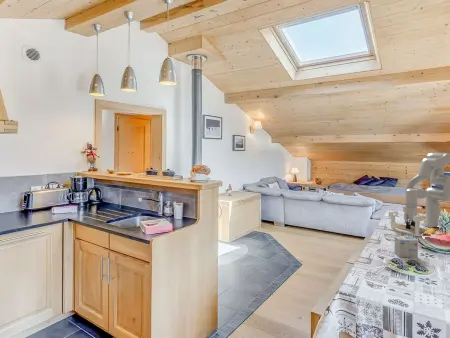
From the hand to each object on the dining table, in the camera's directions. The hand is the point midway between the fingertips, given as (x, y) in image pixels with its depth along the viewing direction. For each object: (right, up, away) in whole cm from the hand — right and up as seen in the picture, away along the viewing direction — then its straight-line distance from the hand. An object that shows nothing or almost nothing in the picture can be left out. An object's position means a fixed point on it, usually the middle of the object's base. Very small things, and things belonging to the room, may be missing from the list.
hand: (410, 228), depth 226 cm
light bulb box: (-35, -6, -51) cm, 62 cm away
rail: (0, -3, 0) cm, 3 cm away
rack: (-7, -2, -4) cm, 8 cm away
